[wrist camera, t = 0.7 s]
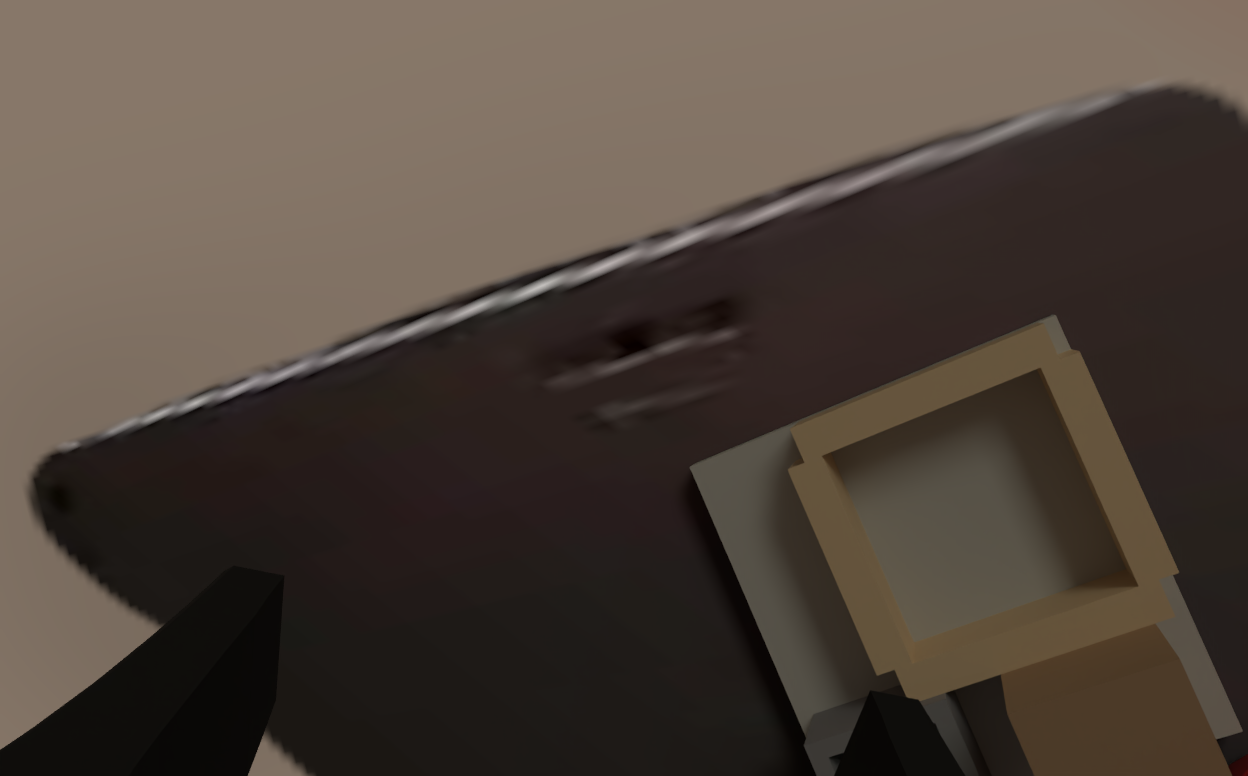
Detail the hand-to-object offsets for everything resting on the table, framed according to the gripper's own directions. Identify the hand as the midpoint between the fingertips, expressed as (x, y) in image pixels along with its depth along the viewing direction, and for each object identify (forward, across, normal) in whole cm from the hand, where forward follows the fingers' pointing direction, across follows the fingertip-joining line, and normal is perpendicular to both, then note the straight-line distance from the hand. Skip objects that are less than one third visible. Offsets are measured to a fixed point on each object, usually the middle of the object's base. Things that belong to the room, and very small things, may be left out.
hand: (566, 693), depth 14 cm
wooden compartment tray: (+16, -11, +9) cm, 21 cm away
